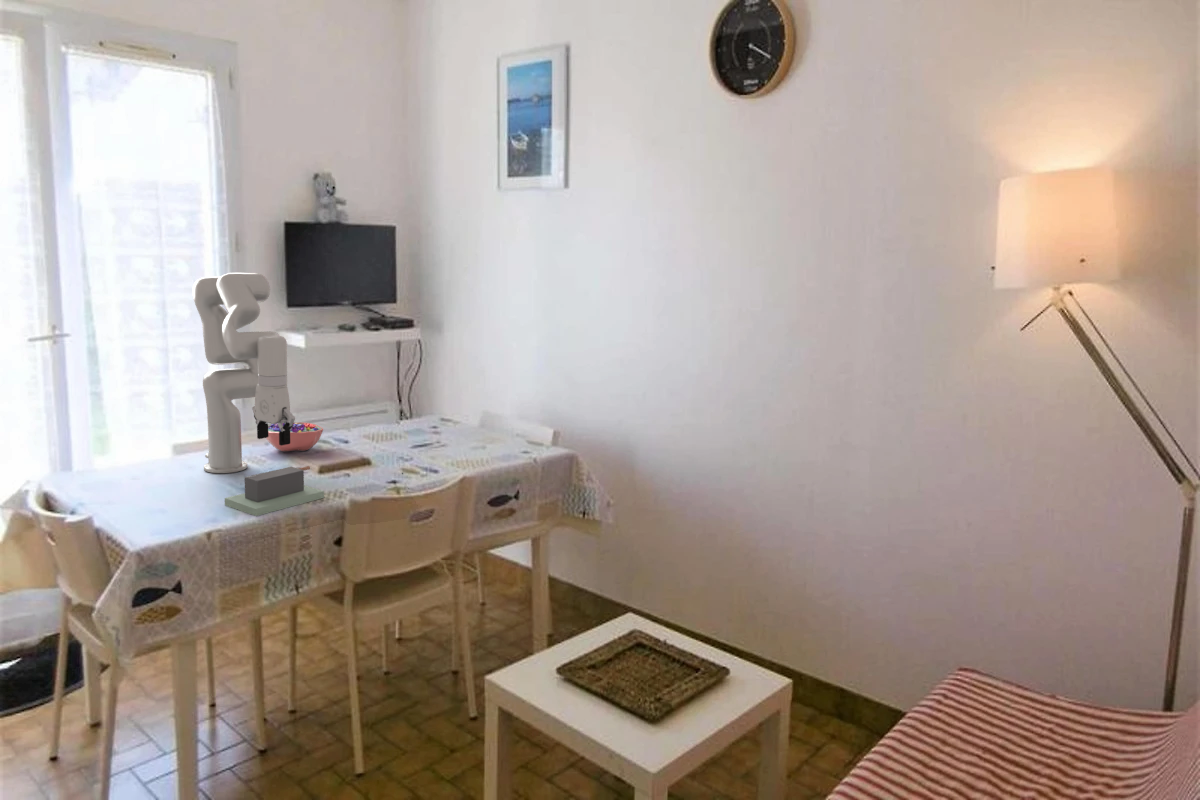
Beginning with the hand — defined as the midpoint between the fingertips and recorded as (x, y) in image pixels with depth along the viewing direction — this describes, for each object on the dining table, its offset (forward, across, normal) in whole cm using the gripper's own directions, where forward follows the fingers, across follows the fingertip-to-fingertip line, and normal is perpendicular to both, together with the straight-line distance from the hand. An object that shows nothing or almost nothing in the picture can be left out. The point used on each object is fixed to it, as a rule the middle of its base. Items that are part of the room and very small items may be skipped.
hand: (273, 441), depth 236 cm
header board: (+17, 0, 0) cm, 17 cm away
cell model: (+18, -42, +38) cm, 60 cm away
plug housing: (+15, 0, +2) cm, 15 cm away
